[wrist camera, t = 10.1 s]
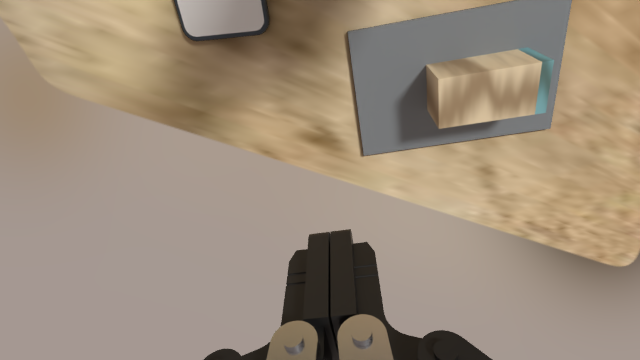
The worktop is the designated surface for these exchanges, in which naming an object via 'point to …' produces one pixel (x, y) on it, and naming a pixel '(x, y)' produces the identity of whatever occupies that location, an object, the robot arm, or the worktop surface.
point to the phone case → (222, 18)
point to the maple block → (488, 87)
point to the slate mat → (439, 46)
